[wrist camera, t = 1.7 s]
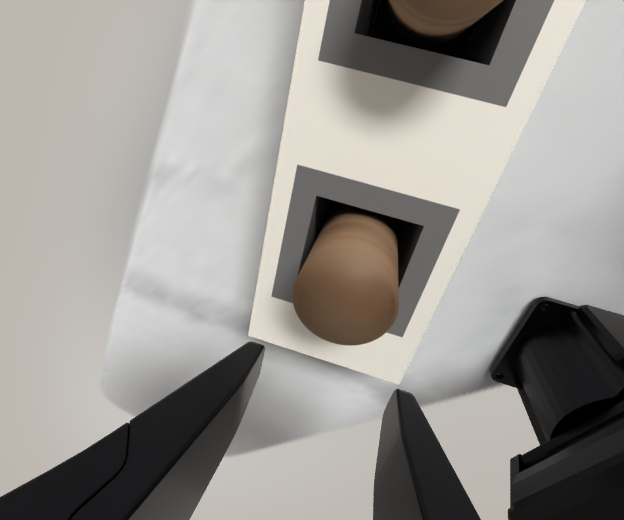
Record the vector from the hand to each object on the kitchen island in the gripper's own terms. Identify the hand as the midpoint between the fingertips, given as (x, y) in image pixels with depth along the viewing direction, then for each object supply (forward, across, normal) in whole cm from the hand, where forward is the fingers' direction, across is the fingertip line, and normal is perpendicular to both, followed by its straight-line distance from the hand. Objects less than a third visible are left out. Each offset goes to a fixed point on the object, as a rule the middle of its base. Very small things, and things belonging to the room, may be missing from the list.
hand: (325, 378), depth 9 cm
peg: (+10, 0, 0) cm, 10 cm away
